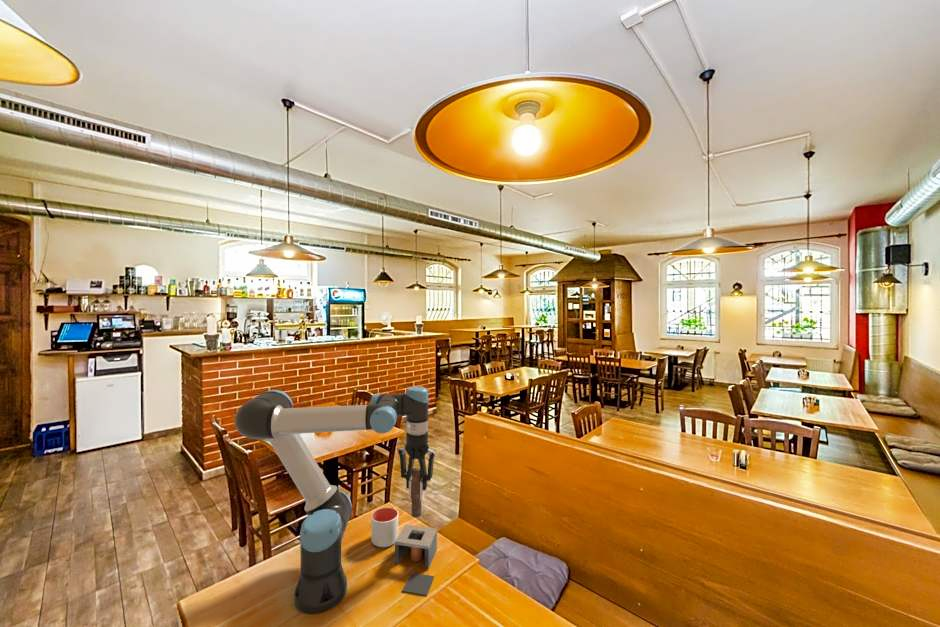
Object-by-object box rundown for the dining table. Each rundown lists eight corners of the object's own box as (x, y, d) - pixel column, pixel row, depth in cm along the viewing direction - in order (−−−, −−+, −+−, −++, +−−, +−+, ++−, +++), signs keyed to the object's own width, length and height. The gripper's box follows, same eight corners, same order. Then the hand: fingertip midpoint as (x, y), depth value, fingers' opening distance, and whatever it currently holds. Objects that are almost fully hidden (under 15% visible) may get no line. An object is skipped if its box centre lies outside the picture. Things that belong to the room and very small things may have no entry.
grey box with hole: (394, 564, 130) (394, 541, 129) (405, 545, 140) (405, 524, 139) (428, 569, 127) (428, 546, 127) (436, 550, 137) (436, 528, 137)
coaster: (402, 591, 118) (402, 590, 118) (411, 573, 125) (411, 572, 125) (426, 596, 116) (426, 594, 116) (434, 577, 124) (434, 576, 124)
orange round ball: (409, 560, 132) (409, 547, 132) (413, 552, 136) (413, 540, 136) (419, 561, 131) (419, 549, 131) (423, 554, 135) (423, 542, 135)
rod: (410, 516, 131) (410, 471, 131) (413, 511, 135) (413, 467, 134) (419, 517, 131) (419, 472, 130) (422, 512, 134) (422, 468, 133)
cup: (403, 537, 144) (403, 512, 144) (384, 552, 136) (384, 525, 135) (384, 529, 149) (384, 504, 149) (365, 542, 141) (365, 516, 141)
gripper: (390, 433, 129) (390, 500, 130) (436, 437, 126) (436, 506, 127) (398, 426, 137) (398, 490, 138) (442, 430, 134) (442, 495, 135)
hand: (416, 497), depth 132 cm, fingers closed on rod, 3 cm apart
